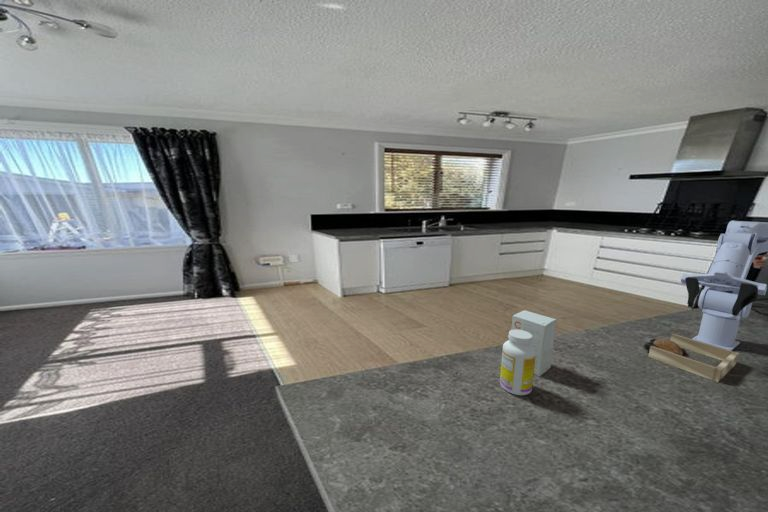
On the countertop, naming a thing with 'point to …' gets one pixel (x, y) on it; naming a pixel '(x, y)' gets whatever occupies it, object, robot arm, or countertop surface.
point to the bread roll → (665, 346)
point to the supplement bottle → (518, 363)
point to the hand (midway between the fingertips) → (711, 309)
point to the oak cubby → (693, 365)
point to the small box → (538, 337)
